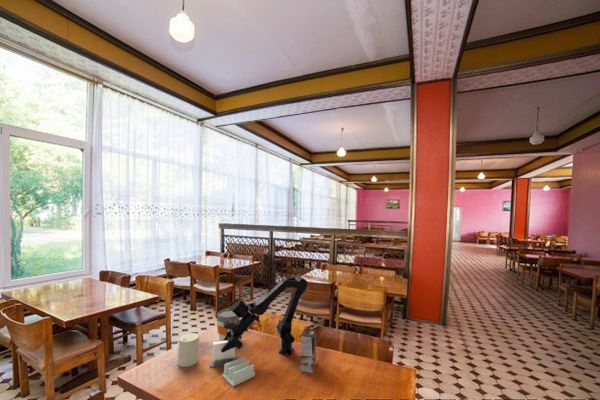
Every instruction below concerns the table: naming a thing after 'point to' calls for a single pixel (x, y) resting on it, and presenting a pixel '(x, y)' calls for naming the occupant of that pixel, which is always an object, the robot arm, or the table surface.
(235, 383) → the dish rack
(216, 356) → the white block
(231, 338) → the robot arm
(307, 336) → the coffee box
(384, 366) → the table surface
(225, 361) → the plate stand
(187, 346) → the can
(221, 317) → the reusable coffee cup
